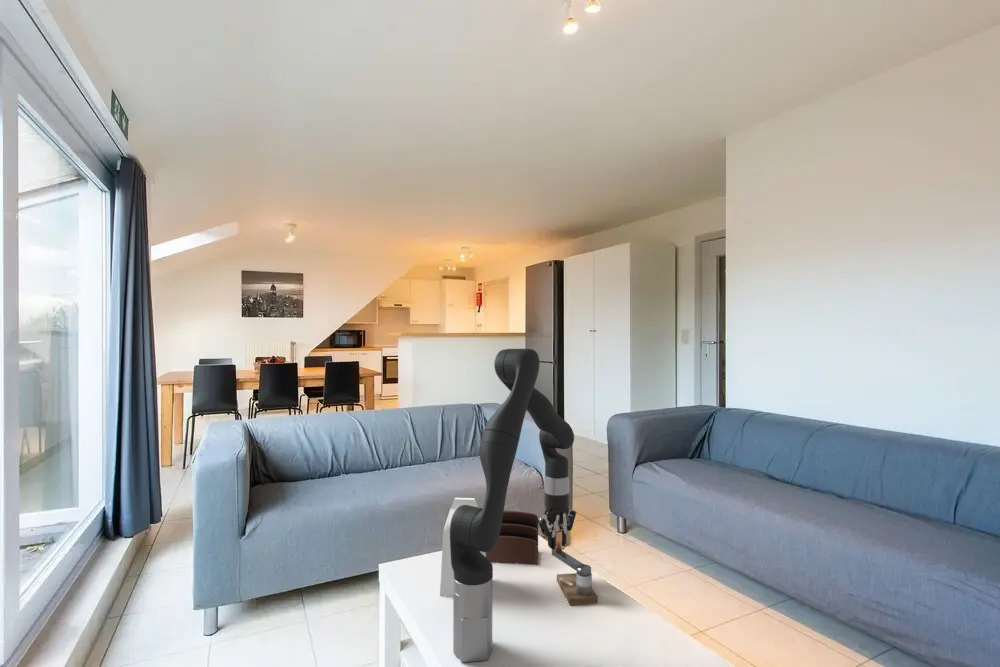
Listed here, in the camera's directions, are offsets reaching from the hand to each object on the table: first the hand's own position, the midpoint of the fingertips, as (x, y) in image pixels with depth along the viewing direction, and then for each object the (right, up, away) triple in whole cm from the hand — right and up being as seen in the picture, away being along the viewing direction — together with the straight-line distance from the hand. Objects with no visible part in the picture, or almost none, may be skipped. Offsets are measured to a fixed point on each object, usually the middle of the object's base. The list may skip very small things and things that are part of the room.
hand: (557, 546), depth 153 cm
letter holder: (-15, -10, +16) cm, 24 cm away
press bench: (+5, -10, -8) cm, 13 cm away
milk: (-28, -10, -5) cm, 30 cm away
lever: (+3, -3, -6) cm, 7 cm away
